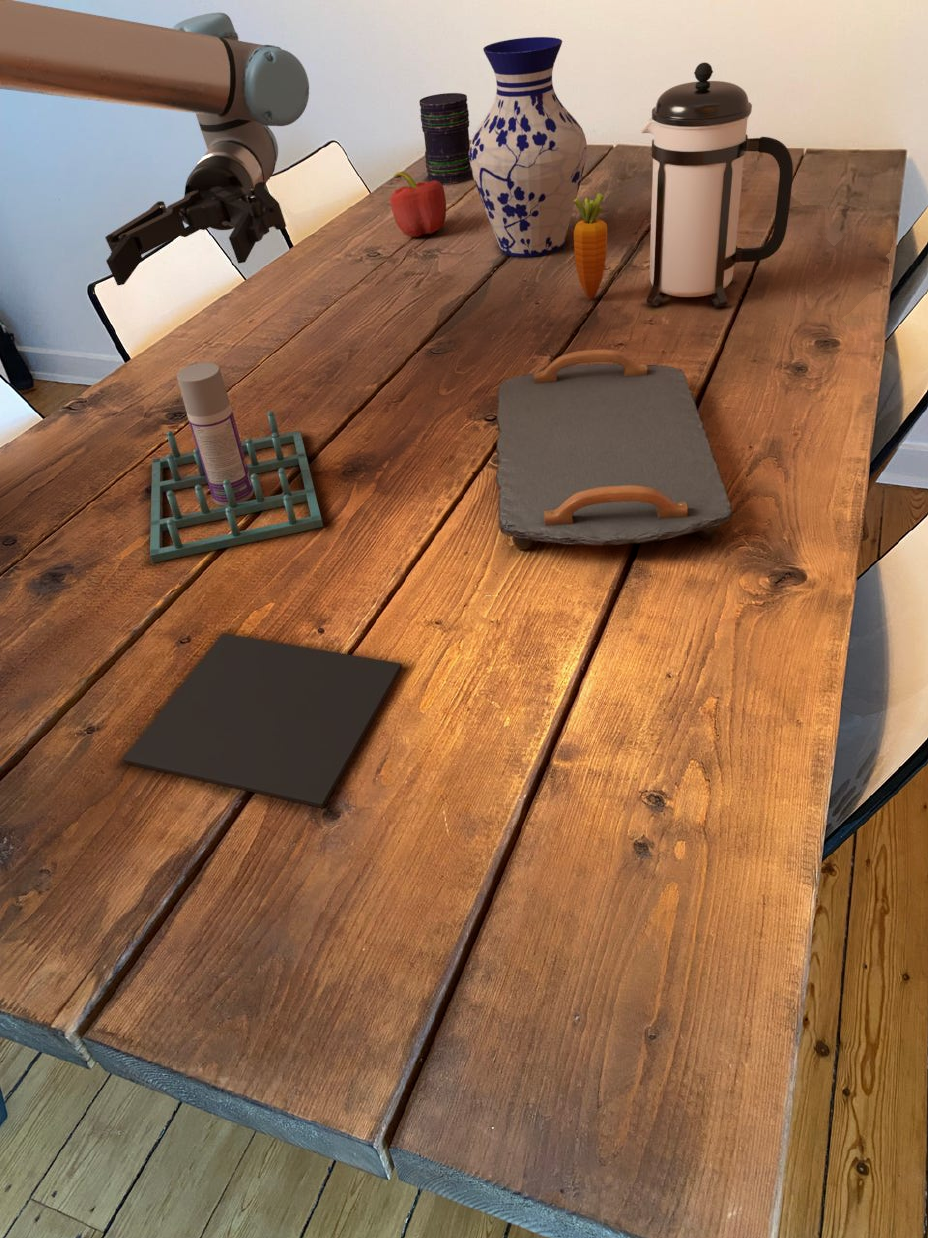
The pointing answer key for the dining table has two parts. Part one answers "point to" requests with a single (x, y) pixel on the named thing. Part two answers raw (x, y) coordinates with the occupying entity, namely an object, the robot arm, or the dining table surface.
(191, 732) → the mat
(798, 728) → the dining table surface
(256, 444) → the dish rack
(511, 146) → the vase
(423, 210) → the vegetable
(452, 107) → the storage jar
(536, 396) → the serving tray
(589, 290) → the carrot
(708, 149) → the coffee press
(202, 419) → the container
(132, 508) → the dining table surface
